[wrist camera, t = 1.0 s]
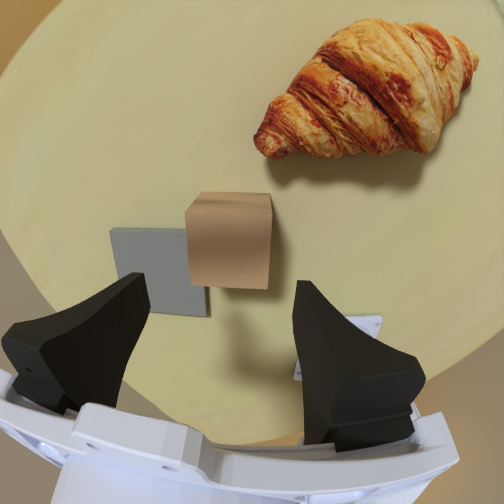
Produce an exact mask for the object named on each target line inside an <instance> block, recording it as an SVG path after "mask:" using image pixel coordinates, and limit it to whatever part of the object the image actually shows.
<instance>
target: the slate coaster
mask: <svg viewBox="0 0 504 504" xmlns="http://www.w3.org/2000/svg"><path fill="white" fill-rule="evenodd" d="M109 233H110V238H111V244H112V249H113V254H114V259H115V264H116V269H117V273H118V278H119V280H120V279H121V278H123V277H124V276H126V275H128V274H130V273H132V272H140V273H144V275H145V281H146V286H147V291H148V296H149V301H150V305H151V308H150V311H149V312H158V313H168V314H179V315H191V316H204V317H206V316H207V312H208V309H207V295H206V286H191V283H190V273H189V262H188V249H187V235H186V229H163V228H113V229H111V230H110V231H109Z"/></svg>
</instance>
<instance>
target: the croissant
mask: <svg viewBox="0 0 504 504" xmlns="http://www.w3.org/2000/svg"><path fill="white" fill-rule="evenodd" d="M478 63H479V57H478V56H477V55H476V54H475V53H474V52H473V51H472V50H470V49H469V48H468V47H467V46H466V45H465V44H464V43H463V42H462V41H461V40H460V39H458V38H457V37H455V36H446V35H444V34H443V33H442V32H440V31H439V30H437V29H436V28H434V27H433V26H431V25H428V24H425V23H419V22H416V23H414V24H412V23H409V24H407V25H399V24H398V23H389V22H386V21H383V20H381V19H363V20H360V21H356V22H354V23H353V24H351V25H349V26H347V27H345V28H343V29H341V30H339V31H337V32H336V33H335V34H333V35H332V36H331V37H330V38H329V39H328V40H326V41H325V43H324V44H323V45H322V46H321V47H320V48H319V49H318V51H317V52H316V54H315V55H314V56H313V57H312V58H311V59H310V60H309V62H308V63H307V64H306V65H304V67H303V68H302V69H301V70H300V72H299V73H298V74H297V75H296V76H295V78H294V79H293V81H292V83H291V85H290V86H289V88H288V89H287V92H286V93H285V94H282V95H280V96H278V97H276V98H275V99H274V100H273V101H272V102H271V103H270V104H269V107H268V110H267V112H266V115H265V118H264V120H263V122H262V123H261V125H260V127H259V129H258V131H257V133H256V134H255V135H254V136H253V139H254V144H255V146H256V148H257V149H258V150H259V151H260V152H261V153H262V154H263V155H264V156H267V157H270V158H271V159H277V160H278V159H281V158H283V157H286V156H288V155H289V154H291V153H296V152H298V151H301V152H303V153H306V154H309V155H312V156H315V157H320V158H340V157H341V156H342V155H345V154H349V155H351V156H352V155H356V154H358V153H360V152H363V151H366V152H367V153H368V154H373V155H377V154H378V155H380V156H383V155H387V154H390V153H394V152H398V151H401V150H405V149H412V150H413V151H414V152H416V151H417V152H418V153H420V154H427V153H429V152H430V151H431V150H433V149H434V147H435V146H436V144H437V142H438V141H439V137H440V134H441V131H442V126H444V125H445V123H446V122H447V121H448V120H449V119H450V118H451V117H452V115H453V114H454V112H455V110H456V108H457V106H458V102H459V96H460V93H461V92H462V91H464V90H465V89H466V88H467V87H468V86H469V85H470V83H471V79H472V75H473V72H474V71H476V69H477V67H478Z"/></svg>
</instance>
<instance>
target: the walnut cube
mask: <svg viewBox="0 0 504 504" xmlns="http://www.w3.org/2000/svg"><path fill="white" fill-rule="evenodd" d="M272 216H273V214H272V207H271V200H270V194H268V193H242V192H201V193H200V195H199V196H198V197H197V198H196V199H195V201H194V202H193V203H192V204H191V205H190V207H189V208H188V209H187V210H186V211H185V219H186V235H187V249H188V262H189V273H190V283H191V286H207V287H225V288H247V289H268V276H269V262H270V247H271V232H272Z"/></svg>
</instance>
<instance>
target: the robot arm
mask: <svg viewBox="0 0 504 504" xmlns="http://www.w3.org/2000/svg"><path fill="white" fill-rule="evenodd" d="M150 308H151V305H150V301H149V296H148V291H147V286H146V281H145V275H144V273H140V272H132V273H130V274H128V275H126V276H124V277H123V278H121V279H120V280H118V281H116V282H115V283H113V284H112V285H110V286H108V287H107V288H105V289H104V290H102V291H100V292H99V293H97V294H95V295H93V296H92V297H90V298H88V299H87V300H85V301H83V302H81V303H79V304H77V305H75V306H73V307H70V308H68V309H65V310H63V311H60V312H58V313H55V314H52V315H49V316H46V317H42V318H39V319H35V320H30V321H24V322H19V323H14V324H13V325H12V326H11V327H10V329H9V330H8V331H7V332H6V333H5V335H4V336H3V337H2V339H1V341H2V347H3V350H4V352H5V353H6V355H7V357H8V359H9V360H10V362H11V363H12V365H13V366H14V368H15V369H16V371H17V372H18V373H19V375H18V376H17V378H15V377H14V376H13V375H11V374H10V373H8V372H6V371H5V370H3V369H1V368H0V428H1V429H2V430H3V431H4V432H6V433H7V434H8V435H10V436H11V437H12V438H14V439H15V440H17V441H18V442H20V443H21V444H23V445H24V446H26V447H27V448H29V449H30V450H32V451H33V452H35V453H36V454H38V455H39V456H41V457H43V458H44V459H46V460H48V461H49V462H51V463H53V464H55V465H56V466H58V467H60V468H62V471H61V474H60V476H59V479H58V482H57V485H56V488H55V491H54V494H53V498H52V501H51V504H413V502H414V501H415V500H416V499H417V498H418V497H419V495H420V494H421V493H422V492H423V491H424V489H425V488H426V487H427V485H428V484H429V483H430V482H431V480H432V479H433V478H435V477H436V476H437V475H439V474H440V473H442V472H444V471H445V470H447V469H448V468H450V467H451V466H452V465H454V464H455V463H457V462H458V461H459V455H458V452H457V450H456V447H455V444H454V442H453V439H452V436H451V434H450V431H449V429H448V426H447V424H446V421H445V419H444V416H443V414H442V412H440V411H439V412H436V413H433V414H430V415H426V416H423V417H421V416H420V413H419V411H418V409H417V406H416V404H415V402H414V399H415V398H416V397H417V395H418V394H419V393H420V391H421V389H422V388H423V386H424V384H425V380H426V377H425V374H424V372H423V370H422V368H421V366H420V364H419V362H418V360H417V358H416V357H414V356H412V355H409V354H406V353H404V352H401V351H399V350H396V349H394V348H392V347H390V346H388V345H386V344H384V343H382V342H380V341H378V340H376V337H377V334H378V332H379V329H380V327H381V324H382V322H383V318H382V316H380V315H375V316H343V315H342V314H341V313H340V312H339V311H338V310H337V309H336V308H335V307H334V306H333V305H332V304H331V303H330V302H329V301H328V300H327V299H326V298H325V297H324V296H323V294H322V293H321V292H320V291H319V290H318V289H317V288H316V286H315V285H314V284H313V283H312V282H311V281H304V280H297V286H296V293H295V300H294V307H293V314H292V320H293V334H294V339H295V344H296V349H297V354H298V358H297V362H296V367H295V371H294V376H293V378H294V380H295V381H302V385H303V401H304V433H305V434H304V437H302V438H301V439H300V440H299V442H298V443H297V446H239V445H225V444H213V443H210V441H209V440H208V439H207V438H206V437H205V435H204V434H203V433H202V432H201V431H199V430H197V429H195V428H193V427H191V426H189V425H186V424H182V423H178V422H175V421H171V420H166V419H160V418H155V417H150V416H145V415H140V414H136V413H132V412H128V411H124V410H120V409H116V404H117V399H118V393H119V390H120V386H121V382H122V378H123V375H124V372H125V369H126V365H127V363H128V360H129V358H130V356H131V353H132V351H133V349H134V347H135V345H136V343H137V341H138V339H139V337H140V334H141V332H142V330H143V328H144V326H145V324H146V321H147V318H148V315H149V311H150ZM377 323H378V324H377ZM375 324H376V325H375Z"/></svg>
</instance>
